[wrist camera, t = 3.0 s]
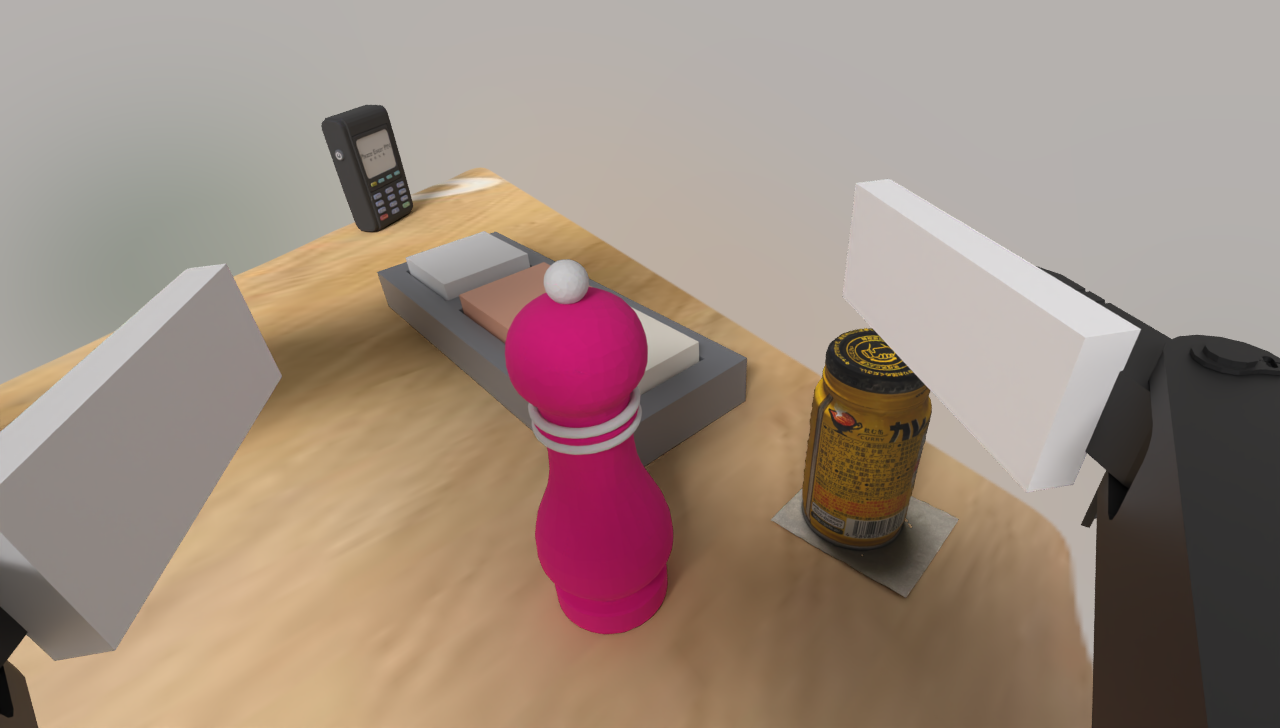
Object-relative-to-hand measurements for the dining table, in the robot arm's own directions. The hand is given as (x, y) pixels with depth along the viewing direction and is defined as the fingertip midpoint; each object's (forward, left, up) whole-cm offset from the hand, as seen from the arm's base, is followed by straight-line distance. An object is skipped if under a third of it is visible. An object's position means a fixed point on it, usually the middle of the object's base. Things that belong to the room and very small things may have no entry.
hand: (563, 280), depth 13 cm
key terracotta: (+16, +33, -21) cm, 43 cm away
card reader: (+19, +78, -24) cm, 84 cm away
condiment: (+19, +1, -24) cm, 31 cm away
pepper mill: (+5, +8, -24) cm, 26 cm away
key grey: (+16, +45, -21) cm, 53 cm away
